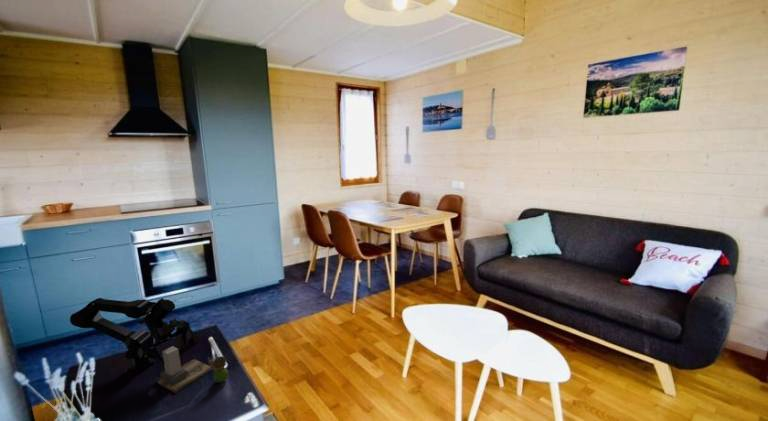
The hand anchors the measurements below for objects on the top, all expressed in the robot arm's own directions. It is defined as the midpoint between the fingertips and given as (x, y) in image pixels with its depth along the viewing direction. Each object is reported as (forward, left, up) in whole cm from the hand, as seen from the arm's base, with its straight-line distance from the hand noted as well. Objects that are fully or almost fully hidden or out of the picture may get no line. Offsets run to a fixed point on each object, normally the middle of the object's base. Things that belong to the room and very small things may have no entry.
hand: (175, 357), depth 138 cm
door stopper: (-19, +14, -8) cm, 25 cm away
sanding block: (+2, -3, -7) cm, 7 cm away
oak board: (+3, +1, -8) cm, 9 cm away
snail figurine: (+19, +5, -8) cm, 22 cm away
